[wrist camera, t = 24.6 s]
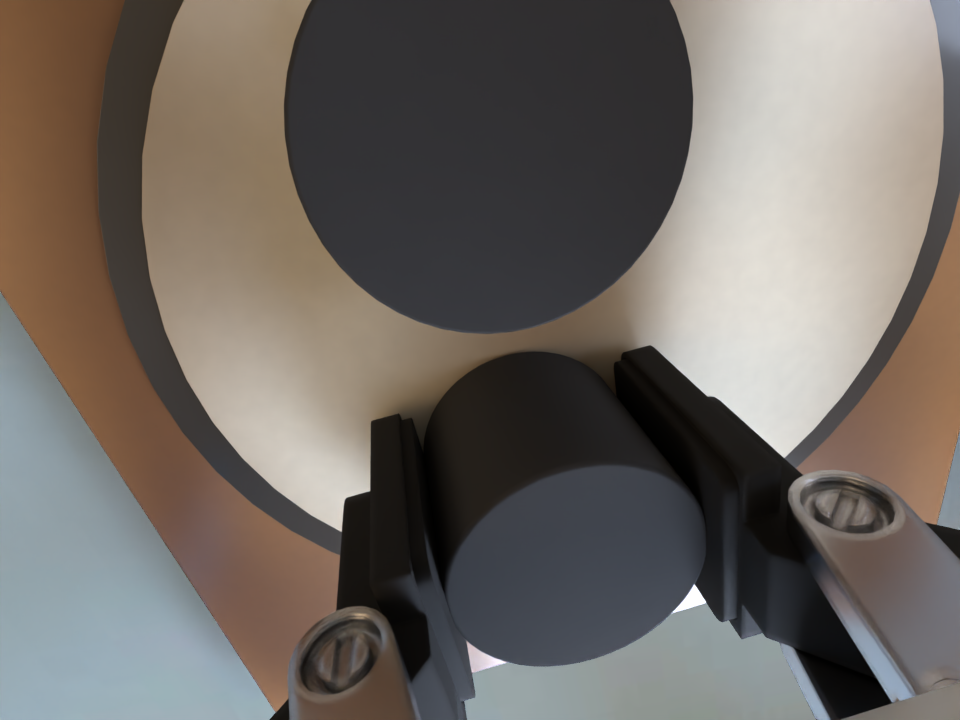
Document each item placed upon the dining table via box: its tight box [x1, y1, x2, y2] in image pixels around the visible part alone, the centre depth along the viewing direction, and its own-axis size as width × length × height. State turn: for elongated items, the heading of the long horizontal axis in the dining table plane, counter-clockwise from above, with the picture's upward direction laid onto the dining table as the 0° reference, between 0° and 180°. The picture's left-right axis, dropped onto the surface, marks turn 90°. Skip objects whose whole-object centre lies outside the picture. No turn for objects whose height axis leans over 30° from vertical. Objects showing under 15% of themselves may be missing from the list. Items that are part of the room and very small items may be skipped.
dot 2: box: [423, 351, 706, 666], centre depth 10 cm, size 4×4×4 cm
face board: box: [0, 0, 960, 712], centre depth 11 cm, size 18×20×1 cm
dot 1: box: [284, 0, 693, 334], centre depth 7 cm, size 4×4×4 cm
